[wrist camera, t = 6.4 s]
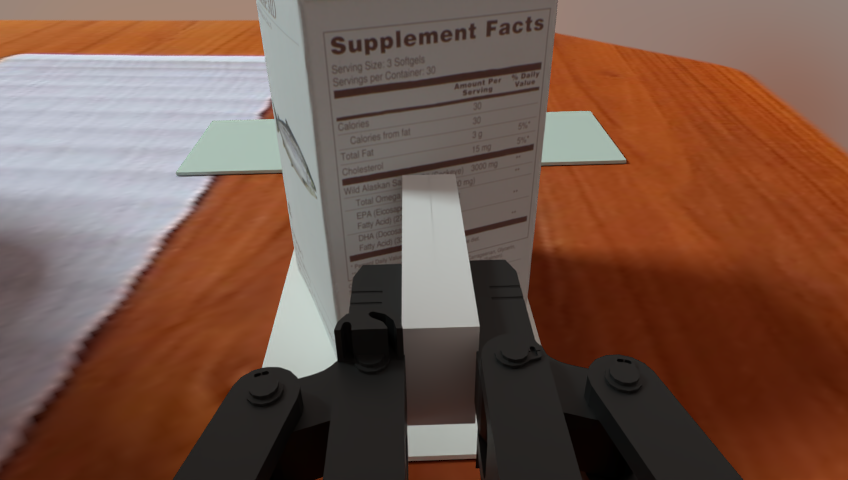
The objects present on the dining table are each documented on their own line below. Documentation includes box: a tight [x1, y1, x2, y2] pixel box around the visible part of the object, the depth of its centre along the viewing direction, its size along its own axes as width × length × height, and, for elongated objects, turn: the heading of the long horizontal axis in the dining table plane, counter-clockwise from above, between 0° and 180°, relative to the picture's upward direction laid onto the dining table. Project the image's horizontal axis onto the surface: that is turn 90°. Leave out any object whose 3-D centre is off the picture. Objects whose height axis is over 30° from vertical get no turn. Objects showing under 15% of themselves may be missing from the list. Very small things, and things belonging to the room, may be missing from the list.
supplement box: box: [256, 0, 558, 359], centre depth 21 cm, size 7×7×13 cm
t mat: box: [176, 111, 626, 461], centre depth 30 cm, size 28×26×1 cm
